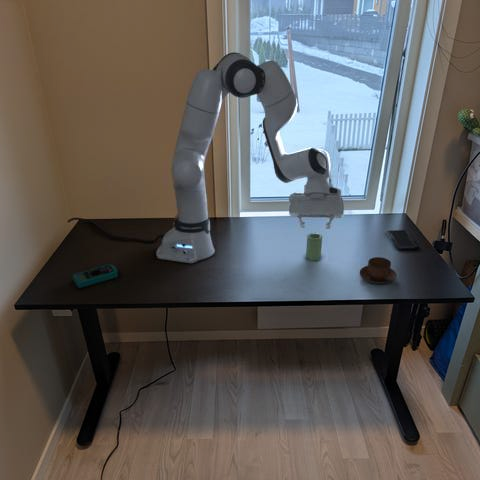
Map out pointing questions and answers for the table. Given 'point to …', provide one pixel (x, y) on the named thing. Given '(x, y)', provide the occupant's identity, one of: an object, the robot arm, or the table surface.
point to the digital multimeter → (95, 276)
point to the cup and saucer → (378, 271)
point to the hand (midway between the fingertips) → (315, 227)
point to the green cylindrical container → (314, 246)
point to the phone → (401, 239)
